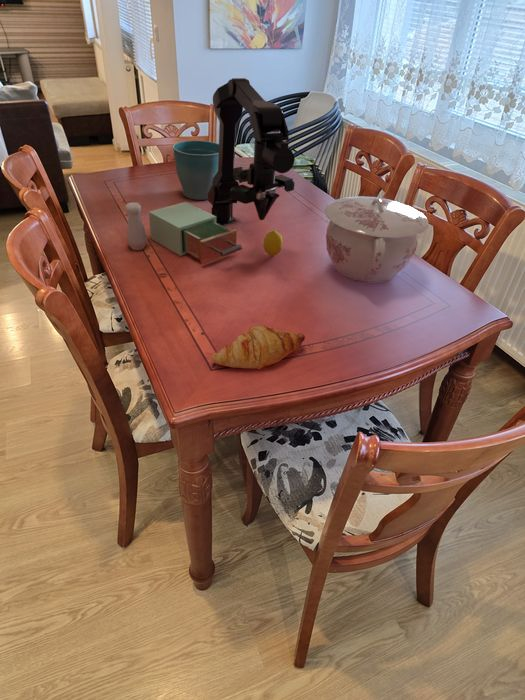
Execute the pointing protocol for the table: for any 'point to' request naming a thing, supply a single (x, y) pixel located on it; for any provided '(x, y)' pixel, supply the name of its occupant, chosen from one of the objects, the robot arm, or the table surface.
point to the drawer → (209, 241)
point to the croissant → (258, 348)
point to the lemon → (273, 243)
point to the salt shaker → (135, 227)
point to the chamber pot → (372, 236)
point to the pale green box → (175, 224)
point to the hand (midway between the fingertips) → (261, 219)
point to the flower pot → (196, 166)
